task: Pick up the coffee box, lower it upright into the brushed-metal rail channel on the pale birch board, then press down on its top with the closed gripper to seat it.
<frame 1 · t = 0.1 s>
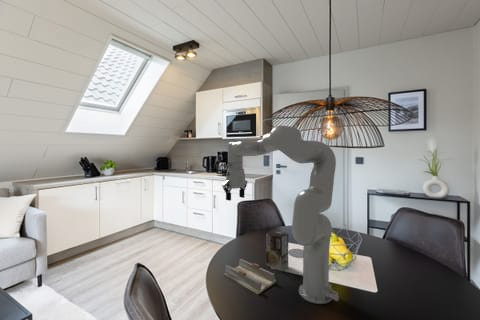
hand: (235, 198, 123), 31 cm above the table, fingers open, 9 cm apart
coffee box: (277, 266, 116), on the table
rail: (249, 278, 104), on the table
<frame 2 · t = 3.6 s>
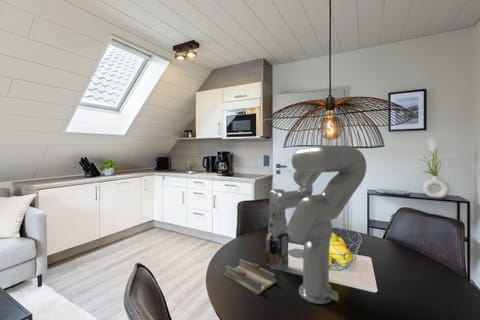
hand: (277, 251, 115), 7 cm above the table, fingers closed on coffee box, 6 cm apart
coffee box: (277, 266, 116), on the table, touching gripper
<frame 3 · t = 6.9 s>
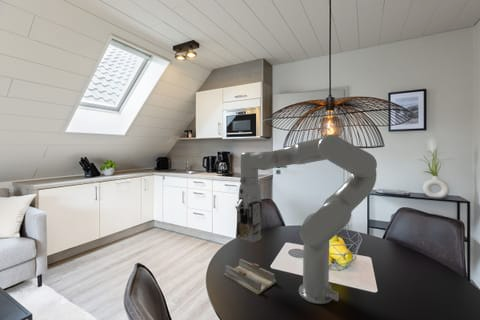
hand: (249, 221, 103), 25 cm above the table, fingers closed on coffee box, 6 cm apart
coffee box: (249, 238, 104), point 18 cm above the table, touching gripper
when the fingers open (10 cm above the table, at t = 10.4 s): coffee box drops 1 cm, resting on rail.
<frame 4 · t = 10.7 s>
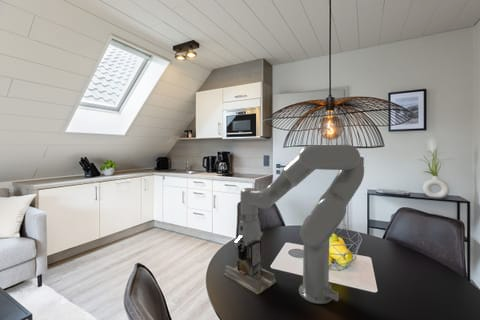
hand: (249, 255, 104), 10 cm above the table, fingers open, 9 cm apart
coffee box: (249, 277, 104), point 1 cm above the table, touching rail
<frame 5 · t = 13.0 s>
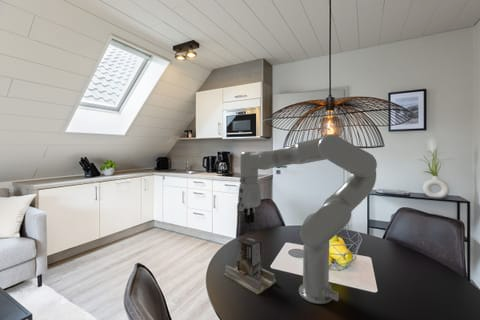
hand: (249, 222, 103), 25 cm above the table, fingers closed
nothing on the table moved.
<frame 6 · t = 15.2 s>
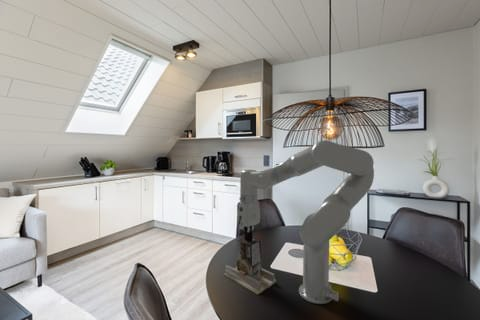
hand: (248, 239, 104), 17 cm above the table, fingers closed
coffee box: (249, 277, 104), point 1 cm above the table, touching gripper, rail
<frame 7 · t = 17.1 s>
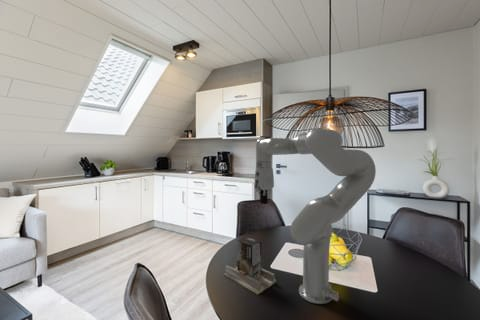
hand: (263, 203, 114), 31 cm above the table, fingers closed
coffee box: (249, 277, 104), point 1 cm above the table, touching rail
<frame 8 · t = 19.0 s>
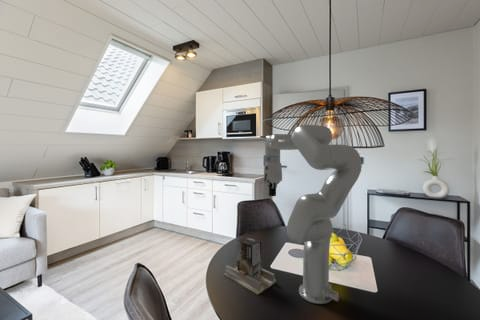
hand: (272, 195, 121), 33 cm above the table, fingers closed
nothing on the table moved.
at the end: coffee box 0.1 cm off-centre on the rail, point 0.8 cm above the rail's base; coffee box tilted 0°; the gripper is holding nothing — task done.
